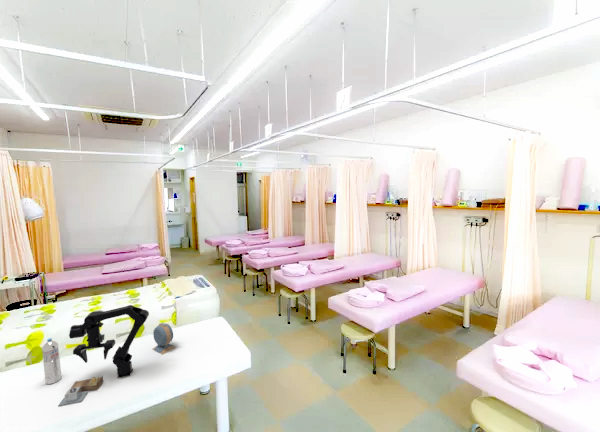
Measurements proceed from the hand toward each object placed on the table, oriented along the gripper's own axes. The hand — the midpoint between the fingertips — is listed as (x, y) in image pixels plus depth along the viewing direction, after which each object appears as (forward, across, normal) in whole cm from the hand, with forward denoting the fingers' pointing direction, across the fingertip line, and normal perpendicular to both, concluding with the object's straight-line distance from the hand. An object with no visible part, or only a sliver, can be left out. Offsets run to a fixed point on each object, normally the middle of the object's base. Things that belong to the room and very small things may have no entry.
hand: (96, 360), depth 157 cm
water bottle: (+11, +24, -6) cm, 27 cm away
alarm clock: (+11, -31, -22) cm, 40 cm away
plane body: (+11, +2, +7) cm, 13 cm away
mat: (+11, +6, +14) cm, 19 cm away
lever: (+8, -2, +9) cm, 12 cm away
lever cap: (+10, +6, +14) cm, 19 cm away
